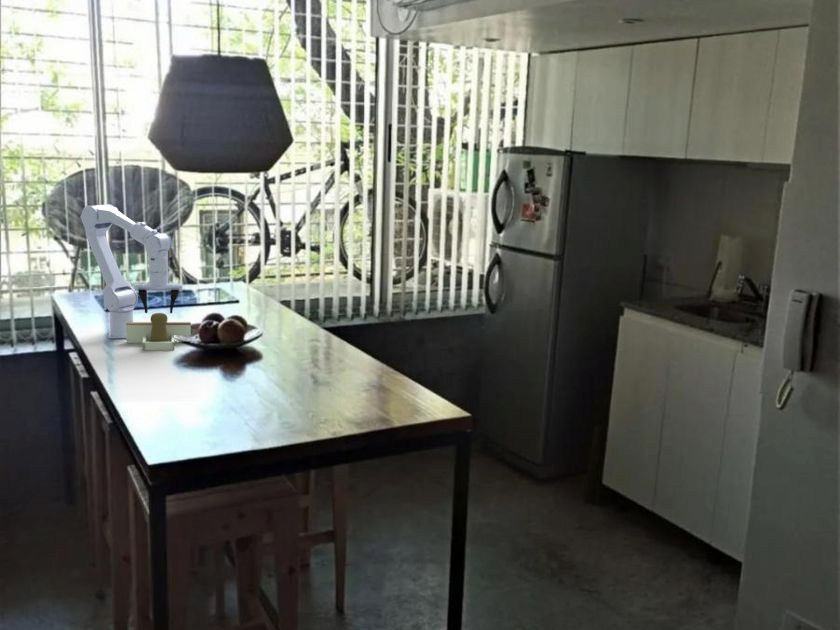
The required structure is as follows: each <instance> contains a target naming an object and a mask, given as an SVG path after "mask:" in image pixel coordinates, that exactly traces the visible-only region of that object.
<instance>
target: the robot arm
mask: <svg viewBox="0 0 840 630" xmlns="http://www.w3.org/2000/svg"><path fill="white" fill-rule="evenodd" d="M79 217H80V220H81V222H82V224H83V227H84V231H85V238H87V241H88V245H89V246H90V248H91V251H92V253H93V256H94V259H95V260H96V264H97V265H98V268H99V270H100V272H101V275H102V278H103V280H104V283H105V287H104V288H103V290H102V295H103V302H104V305H105V307H106V308H107V311H109V333H108V336H107V338H108V339H127V329H126V323H127V322H134V309H135V306H136V305H137V304H138V301H139V298H140V300H141V302H142V304H143V309H144V313H145V314H147V313H148V309H149V308H148V291H149V292H150V291H153V292H155V291H156V292H157V291H158V292H159V291H160V292H164V291H165V292H168V291H169V292H170V304H169V305H170V306H169V307H170V308H169V313H170V314H172V313H173V310H174V306H175V303H176V299H178V296H179V293H180V292H183V284H182V283H181V284H179V283H169V250H170V249H171V248H172V246H173V242H172V241H173V240H172V239H171V237H170V235H169V234H168V233H167V232H158V230H157V229H153V228H152V227H150V226H148V225H147V223H146V221H145V222H144V221H142V222H140V221H138V222H135V221H134V220H132V219H131V218H129V217H127V216H126V215H125V214H123V213H122V212H121V211H119V209H118V207H116V206H113V205H112V204H110V203H106V204H99V205H86V206H85V207H83V209H82V212H81V214H80V216H79ZM113 224H114V225H115V226H118V227H120V228H121V229H123V230H125V231H127V232H129V235H130V237H131V239H133V240H135V241H137V242H139V243H140V244H141V245H144V246H145V249H146V251H147V256H148V264H149V265H148V276H149V277H148V282H149V283H134V288H133V287H132V285H131V283H130V282H128V281H127V280H125V279H124V277H122V273H121V271H120V269H119V267H118V264H117V261H116V260H115V256H114V254H113V252H112V249H111V246H110V245H109V242H108V240H107V238H106V234H107V232H108V231H109V230H110V228H111V226H113ZM138 296H139V297H138Z"/></svg>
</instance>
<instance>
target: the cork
mask: <svg viewBox="0 0 840 630" xmlns="http://www.w3.org/2000/svg"><path fill="white" fill-rule="evenodd" d="M150 322H151V323H152V331H151V338H150V342H168V336H167V329H166V323H167V322H168V315H167V313H163V312H156V313H152V314H151V316H150Z"/></svg>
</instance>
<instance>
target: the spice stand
mask: <svg viewBox="0 0 840 630" xmlns="http://www.w3.org/2000/svg"><path fill="white" fill-rule="evenodd" d="M191 325H192V324H191V321H167V323H166V329H167V336H168V342H150V338H151V331H152V323H151V321H148V322H147V321H141V322H140V321H133V322H127V323H126V329H127V338H126V343H127V344H139V343H140V344H142V351H173V350H174V351H175V343H178V342H177V341H175V340H174V335H192V334H191V332H192V329H191V327H192V326H191Z"/></svg>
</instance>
